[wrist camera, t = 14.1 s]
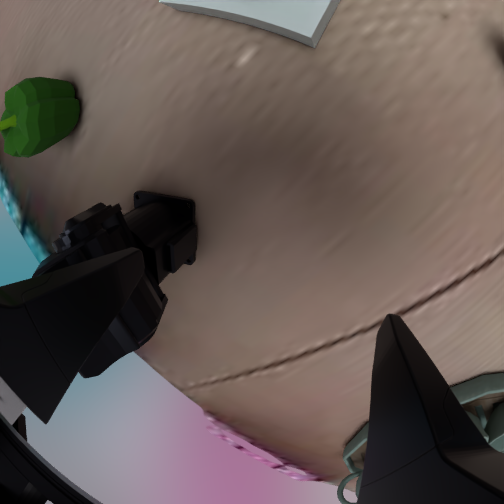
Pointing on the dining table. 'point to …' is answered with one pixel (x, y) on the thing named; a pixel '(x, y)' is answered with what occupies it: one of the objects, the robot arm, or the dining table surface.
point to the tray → (269, 15)
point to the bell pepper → (38, 115)
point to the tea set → (474, 403)
